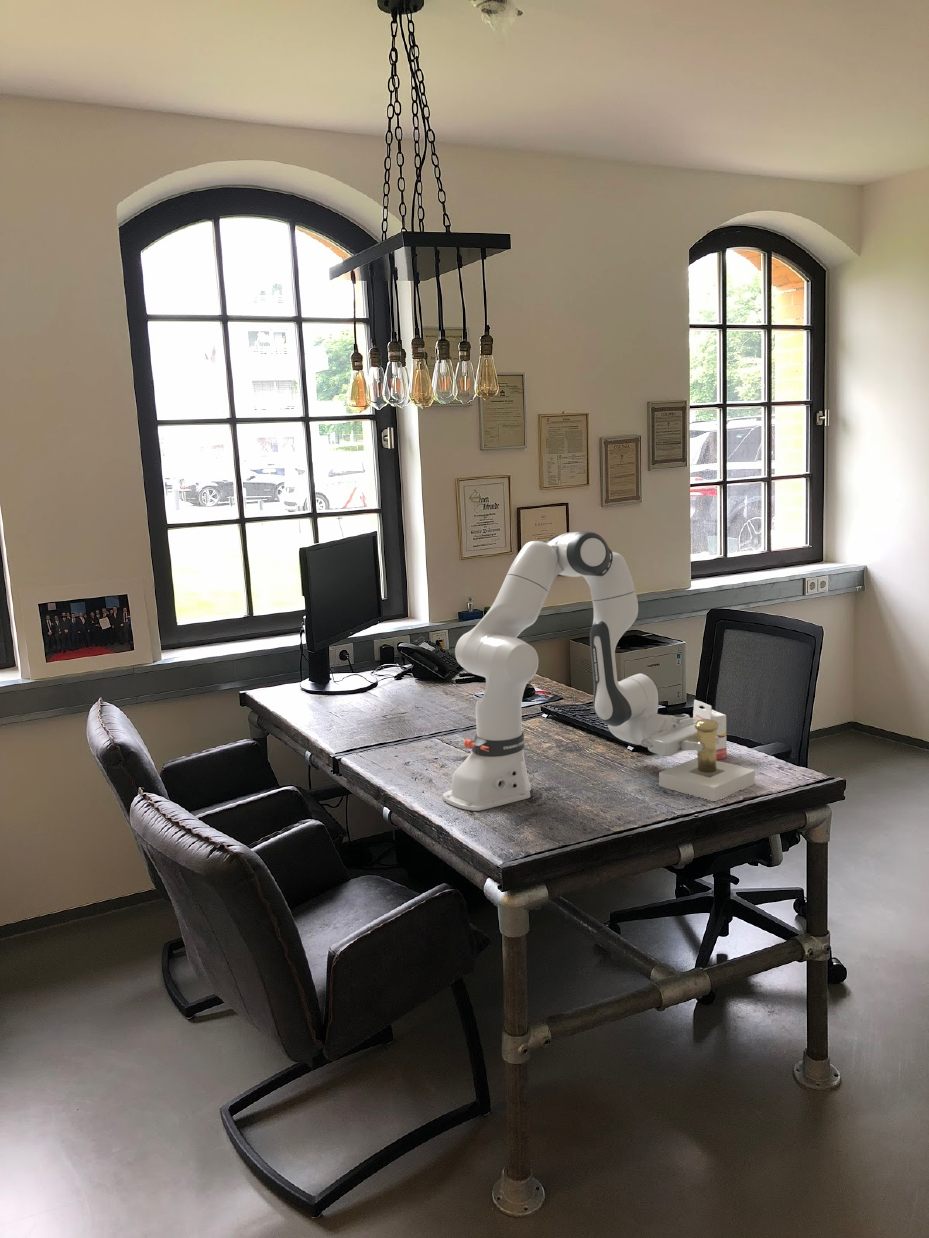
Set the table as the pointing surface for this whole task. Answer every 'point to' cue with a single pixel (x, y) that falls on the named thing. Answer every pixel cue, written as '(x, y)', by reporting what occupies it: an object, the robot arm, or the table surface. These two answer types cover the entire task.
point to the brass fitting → (707, 745)
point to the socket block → (707, 780)
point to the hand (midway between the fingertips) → (709, 744)
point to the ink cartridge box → (721, 731)
